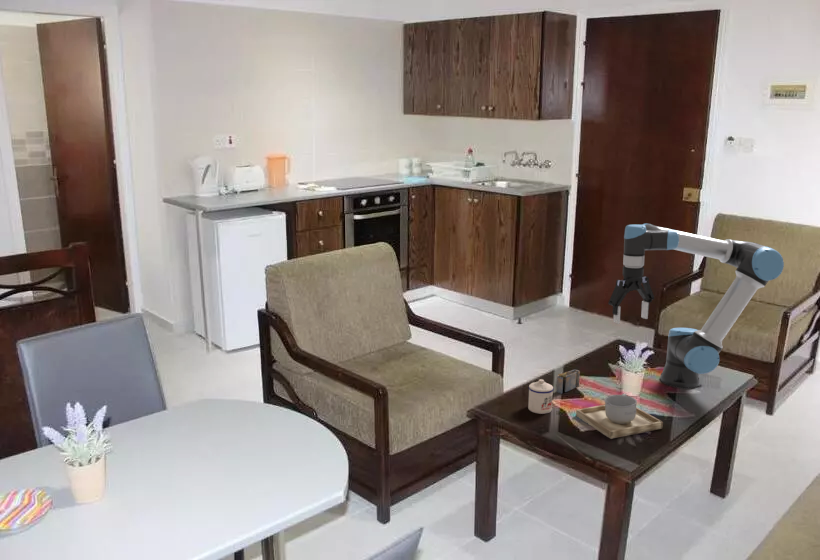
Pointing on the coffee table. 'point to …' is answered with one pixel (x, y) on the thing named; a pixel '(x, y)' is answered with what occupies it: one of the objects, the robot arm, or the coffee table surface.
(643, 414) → the tray
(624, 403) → the teacup
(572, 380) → the grey napkin holder
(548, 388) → the teacup with lid
